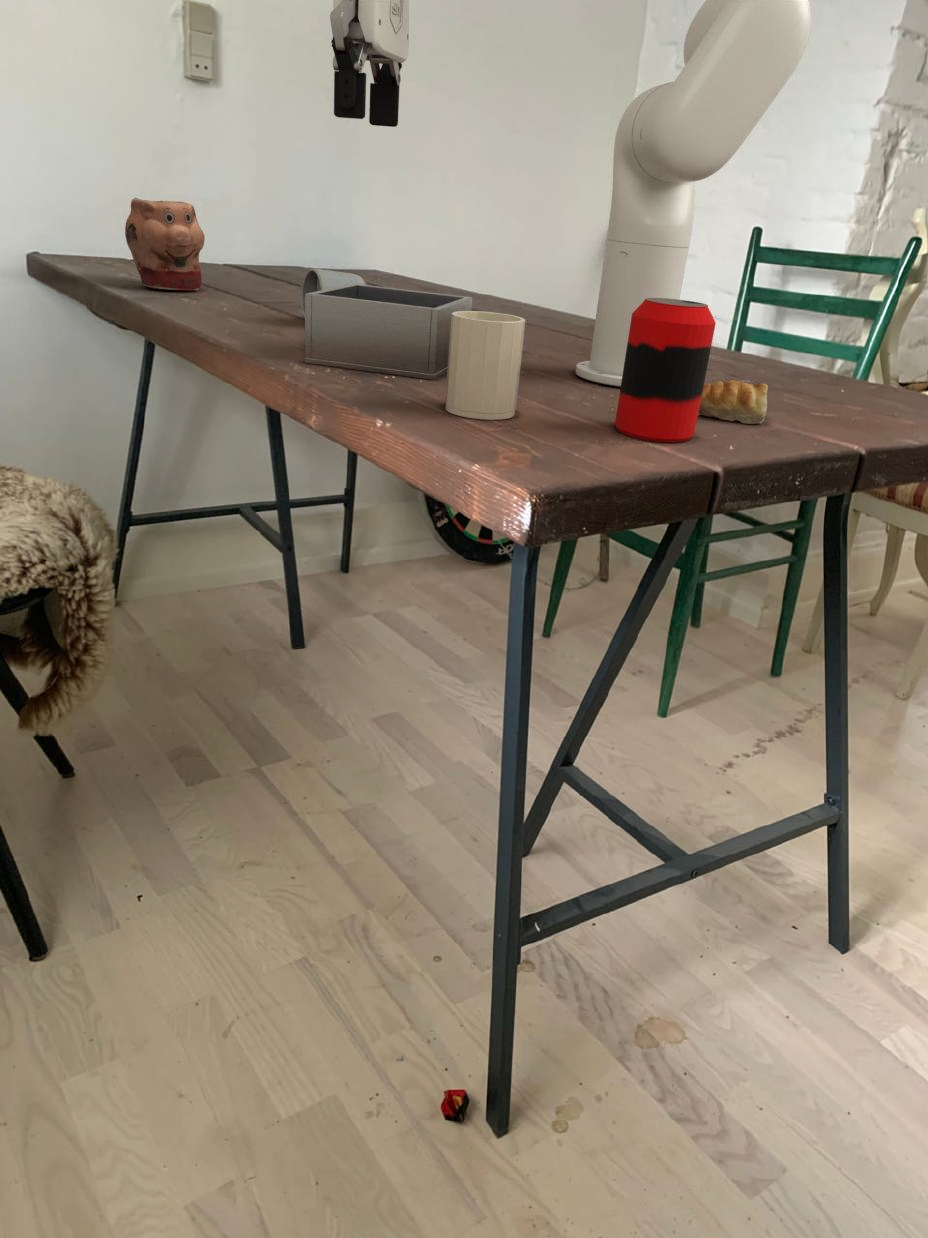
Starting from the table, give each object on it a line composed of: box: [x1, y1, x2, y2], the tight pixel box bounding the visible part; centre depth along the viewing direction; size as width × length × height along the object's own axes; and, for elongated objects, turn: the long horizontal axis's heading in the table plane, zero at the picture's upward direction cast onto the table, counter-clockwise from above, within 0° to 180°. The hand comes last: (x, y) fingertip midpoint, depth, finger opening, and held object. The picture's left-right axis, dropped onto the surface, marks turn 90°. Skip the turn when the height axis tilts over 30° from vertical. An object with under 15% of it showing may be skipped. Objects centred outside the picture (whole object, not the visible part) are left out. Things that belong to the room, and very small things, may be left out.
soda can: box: [614, 298, 717, 444], centre depth 85 cm, size 8×8×12 cm
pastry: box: [698, 379, 769, 425], centre depth 97 cm, size 9×7×4 cm
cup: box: [444, 310, 526, 421], centre depth 88 cm, size 7×7×9 cm
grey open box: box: [304, 284, 473, 381], centre depth 108 cm, size 16×16×8 cm
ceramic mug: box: [300, 268, 368, 318], centre depth 132 cm, size 11×8×8 cm
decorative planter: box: [124, 197, 206, 291], centre depth 153 cm, size 20×12×14 cm, turn 40°
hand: (367, 121), depth 96 cm, fingers open, 9 cm apart
